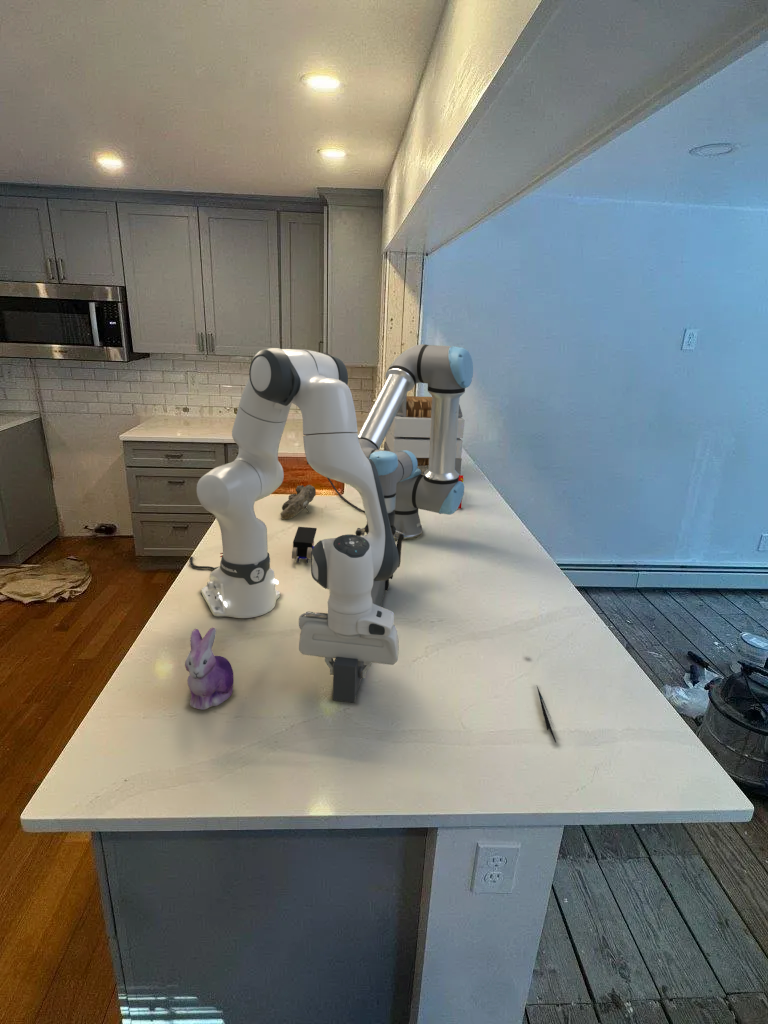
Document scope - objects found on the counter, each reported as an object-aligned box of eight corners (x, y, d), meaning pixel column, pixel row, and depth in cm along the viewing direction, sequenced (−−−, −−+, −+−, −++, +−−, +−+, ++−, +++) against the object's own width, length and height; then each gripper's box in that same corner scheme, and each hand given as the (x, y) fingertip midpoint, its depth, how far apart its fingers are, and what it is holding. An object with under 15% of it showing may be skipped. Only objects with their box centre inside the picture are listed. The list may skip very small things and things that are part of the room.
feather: (528, 662, 131) (533, 656, 131) (556, 747, 105) (562, 740, 104) (522, 659, 131) (527, 652, 130) (548, 742, 104) (555, 735, 104)
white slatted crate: (382, 463, 289) (386, 382, 275) (445, 464, 293) (451, 384, 279) (390, 482, 257) (394, 392, 243) (460, 483, 261) (468, 394, 247)
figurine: (192, 718, 107) (185, 650, 102) (183, 687, 116) (177, 623, 111) (241, 704, 111) (238, 639, 106) (229, 675, 120) (225, 613, 115)
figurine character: (313, 570, 172) (317, 545, 186) (312, 548, 169) (317, 525, 182) (290, 569, 172) (297, 545, 186) (290, 548, 169) (296, 524, 182)
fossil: (285, 490, 226) (313, 470, 221) (301, 508, 229) (329, 489, 224) (270, 515, 206) (301, 493, 201) (287, 534, 209) (318, 513, 204)
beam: (372, 581, 164) (373, 554, 162) (387, 582, 164) (388, 555, 161) (332, 700, 114) (333, 664, 111) (354, 702, 114) (355, 666, 111)
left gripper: (294, 618, 110) (295, 678, 115) (398, 629, 108) (395, 690, 113) (302, 603, 116) (303, 660, 121) (401, 613, 114) (398, 671, 119)
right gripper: (346, 511, 149) (344, 590, 157) (412, 517, 148) (407, 596, 155) (351, 502, 156) (349, 578, 164) (414, 507, 155) (409, 584, 163)
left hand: (348, 674), depth 117 cm, fingers closed on beam, 4 cm apart
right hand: (377, 587), depth 160 cm, fingers closed on beam, 4 cm apart
